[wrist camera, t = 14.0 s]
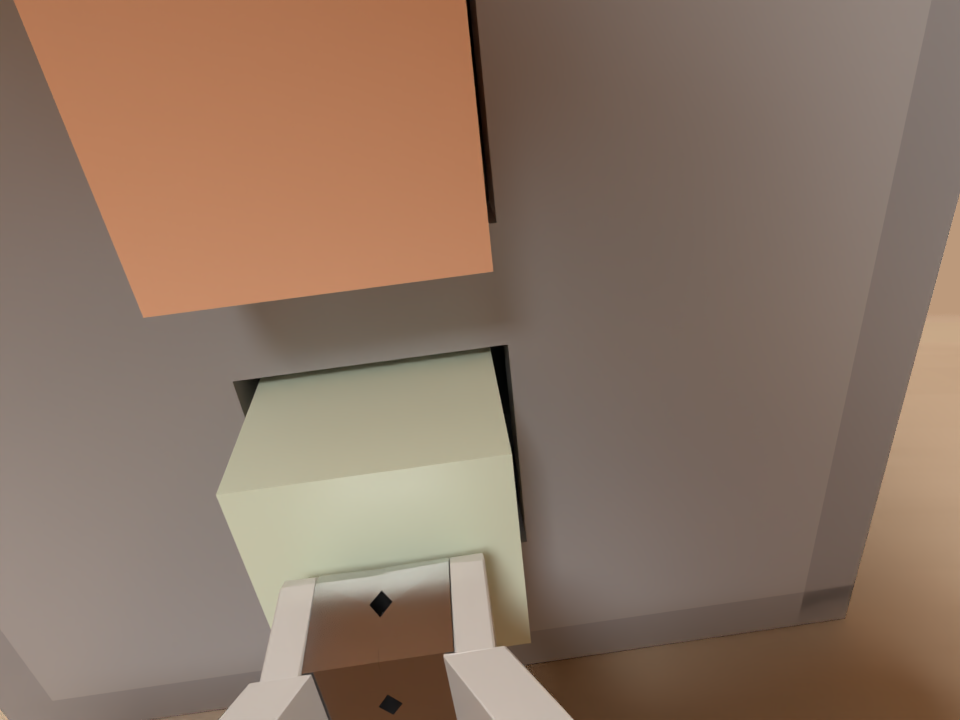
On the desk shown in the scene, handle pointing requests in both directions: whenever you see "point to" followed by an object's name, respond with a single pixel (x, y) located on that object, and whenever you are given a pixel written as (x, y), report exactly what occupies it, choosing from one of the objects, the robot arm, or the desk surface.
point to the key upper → (271, 142)
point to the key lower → (378, 477)
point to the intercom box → (512, 344)
